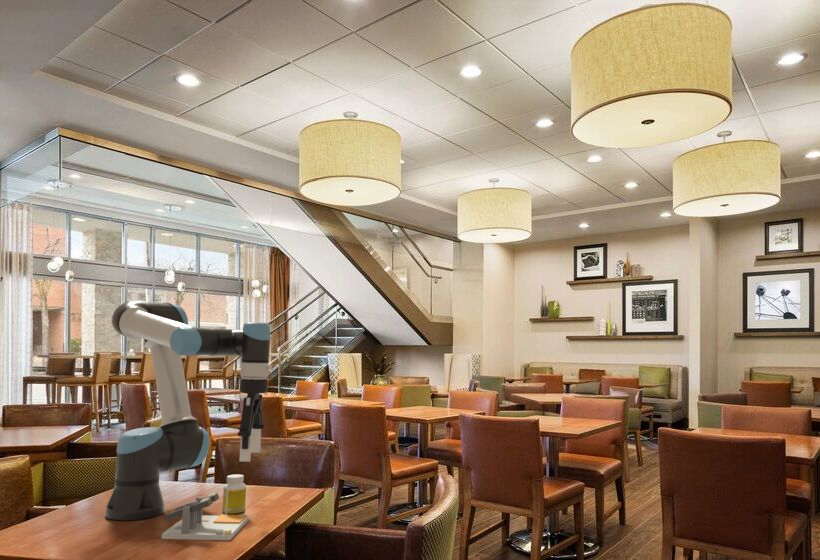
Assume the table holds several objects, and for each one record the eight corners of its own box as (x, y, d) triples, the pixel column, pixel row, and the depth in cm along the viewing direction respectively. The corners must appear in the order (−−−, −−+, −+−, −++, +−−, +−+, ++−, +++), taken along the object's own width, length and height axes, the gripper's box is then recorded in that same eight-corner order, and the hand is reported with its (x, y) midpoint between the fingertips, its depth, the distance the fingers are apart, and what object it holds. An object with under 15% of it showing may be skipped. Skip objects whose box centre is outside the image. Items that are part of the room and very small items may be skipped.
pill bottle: (249, 514, 175) (251, 475, 176) (234, 520, 169) (236, 478, 171) (232, 511, 178) (234, 472, 179) (217, 517, 172) (219, 476, 173)
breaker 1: (166, 521, 153) (164, 514, 153) (171, 517, 156) (169, 510, 156) (208, 506, 153) (206, 499, 154) (212, 503, 157) (210, 496, 157)
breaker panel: (161, 538, 151) (163, 507, 152) (186, 519, 169) (188, 491, 170) (230, 540, 151) (231, 508, 152) (248, 520, 169) (249, 492, 170)
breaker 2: (175, 515, 158) (173, 508, 159) (179, 511, 162) (177, 505, 162) (215, 501, 159) (213, 494, 159) (219, 498, 162) (217, 491, 162)
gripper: (259, 381, 157) (255, 465, 155) (275, 376, 182) (271, 449, 180) (230, 380, 157) (225, 465, 155) (249, 375, 182) (245, 448, 179)
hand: (250, 456), depth 167 cm, fingers open, 13 cm apart
